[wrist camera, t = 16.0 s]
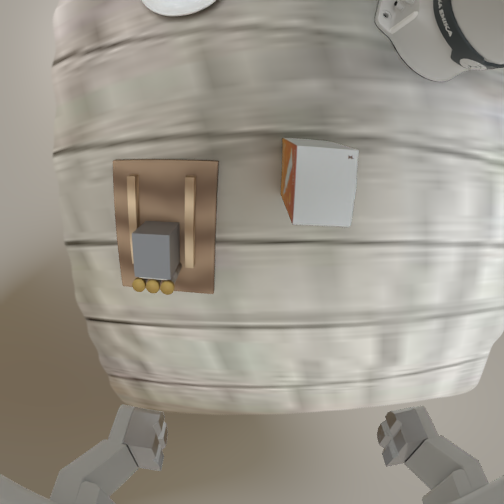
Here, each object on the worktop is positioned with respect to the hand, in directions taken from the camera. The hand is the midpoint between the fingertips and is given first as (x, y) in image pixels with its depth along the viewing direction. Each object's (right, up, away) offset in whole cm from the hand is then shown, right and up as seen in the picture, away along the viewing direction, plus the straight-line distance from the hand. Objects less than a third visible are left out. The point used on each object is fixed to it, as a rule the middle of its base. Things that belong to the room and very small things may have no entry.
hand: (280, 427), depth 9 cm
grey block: (-14, +8, +34) cm, 37 cm away
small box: (+6, +18, +31) cm, 36 cm away
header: (-14, +10, +34) cm, 38 cm away
